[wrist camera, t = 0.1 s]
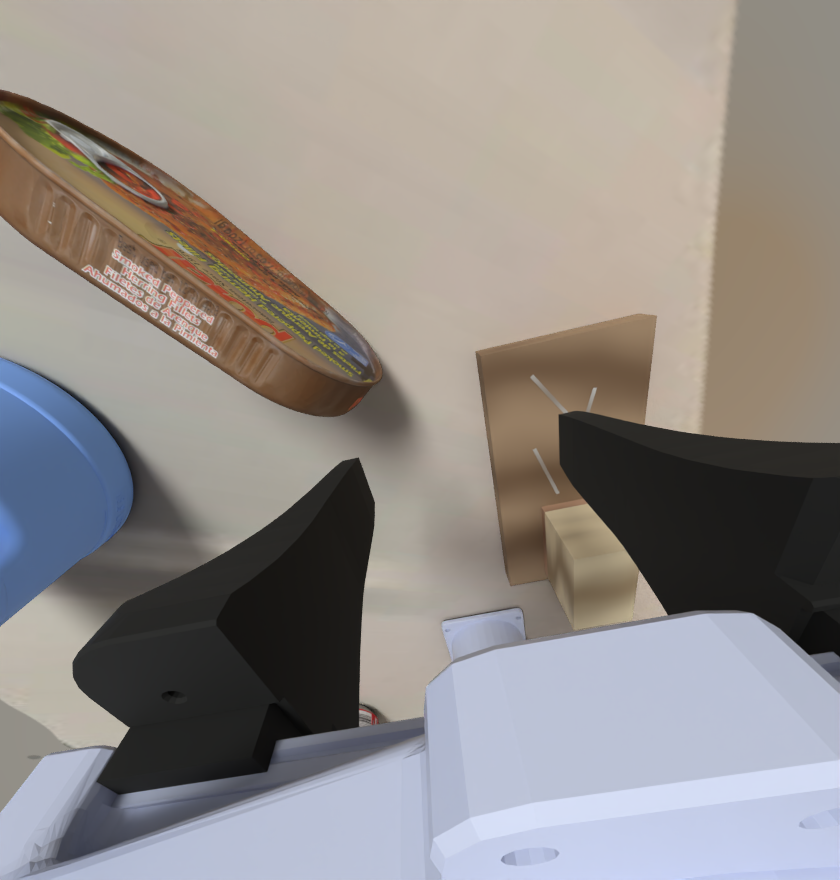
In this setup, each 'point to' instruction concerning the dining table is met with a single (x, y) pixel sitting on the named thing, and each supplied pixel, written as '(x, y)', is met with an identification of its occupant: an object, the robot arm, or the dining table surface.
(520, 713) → the robot arm
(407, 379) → the dining table surface
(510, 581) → the board
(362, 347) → the tin
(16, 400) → the water jug
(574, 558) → the block
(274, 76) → the dining table surface
